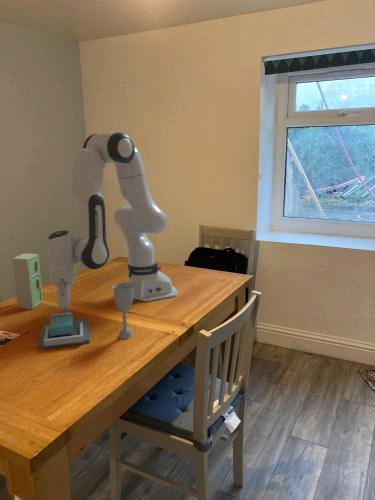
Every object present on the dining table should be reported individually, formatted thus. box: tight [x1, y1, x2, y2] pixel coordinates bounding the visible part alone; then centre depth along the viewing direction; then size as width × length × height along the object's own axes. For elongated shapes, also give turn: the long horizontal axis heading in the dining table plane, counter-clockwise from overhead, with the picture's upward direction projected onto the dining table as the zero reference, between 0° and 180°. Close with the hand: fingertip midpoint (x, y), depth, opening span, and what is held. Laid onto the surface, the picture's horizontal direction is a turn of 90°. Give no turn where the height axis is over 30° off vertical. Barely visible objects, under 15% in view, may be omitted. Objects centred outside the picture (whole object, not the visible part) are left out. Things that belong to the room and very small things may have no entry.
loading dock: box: [37, 318, 91, 350], centre depth 135 cm, size 16×21×4 cm
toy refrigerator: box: [12, 252, 44, 310], centre depth 157 cm, size 8×7×21 cm
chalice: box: [112, 282, 134, 340], centre depth 131 cm, size 7×7×18 cm
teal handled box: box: [49, 312, 74, 338], centre depth 133 cm, size 7×10×5 cm
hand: (66, 310), depth 145 cm, fingers open, 8 cm apart
